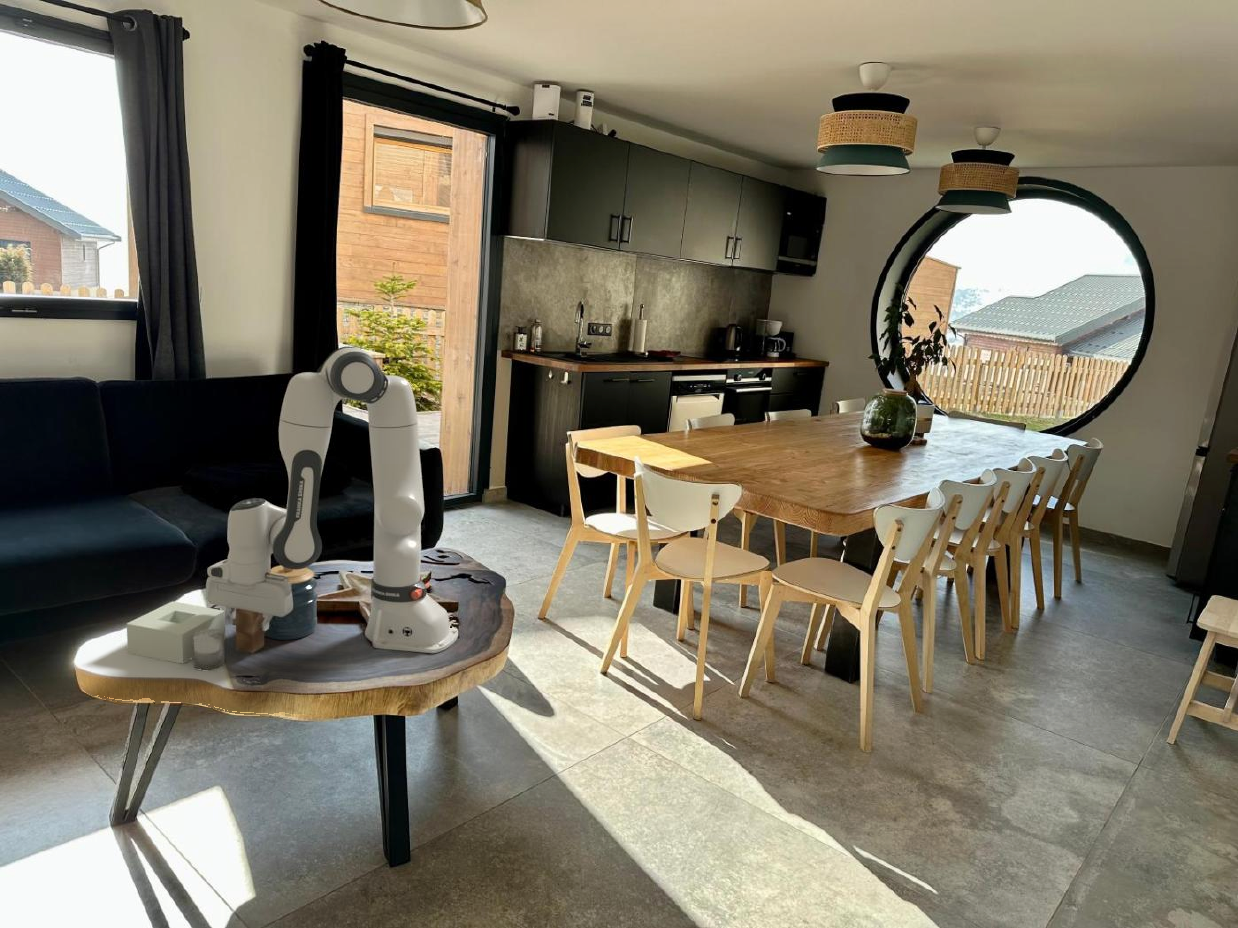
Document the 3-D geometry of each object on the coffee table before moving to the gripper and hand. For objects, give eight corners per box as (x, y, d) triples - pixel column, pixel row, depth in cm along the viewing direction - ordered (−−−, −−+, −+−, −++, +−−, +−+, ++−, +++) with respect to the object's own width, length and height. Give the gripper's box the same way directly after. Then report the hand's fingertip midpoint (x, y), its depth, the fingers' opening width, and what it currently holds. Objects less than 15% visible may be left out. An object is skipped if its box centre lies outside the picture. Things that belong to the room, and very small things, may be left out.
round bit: (230, 660, 187) (229, 631, 186) (212, 672, 181) (211, 642, 180) (206, 656, 188) (206, 627, 187) (187, 667, 182) (187, 637, 181)
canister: (303, 614, 214) (303, 548, 210) (326, 632, 205) (327, 564, 201) (251, 626, 205) (250, 557, 201) (273, 645, 196) (272, 574, 192)
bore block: (225, 638, 197) (224, 610, 196) (183, 663, 184) (182, 634, 182) (173, 628, 200) (172, 601, 198) (127, 652, 186) (126, 623, 185)
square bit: (264, 645, 195) (263, 605, 193) (252, 653, 191) (252, 612, 189) (248, 642, 196) (247, 602, 194) (236, 650, 192) (235, 609, 190)
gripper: (299, 572, 191) (298, 629, 194) (219, 559, 195) (220, 614, 198) (282, 581, 185) (282, 640, 188) (200, 567, 189) (202, 624, 192)
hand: (250, 626), depth 193 cm, fingers open, 6 cm apart
